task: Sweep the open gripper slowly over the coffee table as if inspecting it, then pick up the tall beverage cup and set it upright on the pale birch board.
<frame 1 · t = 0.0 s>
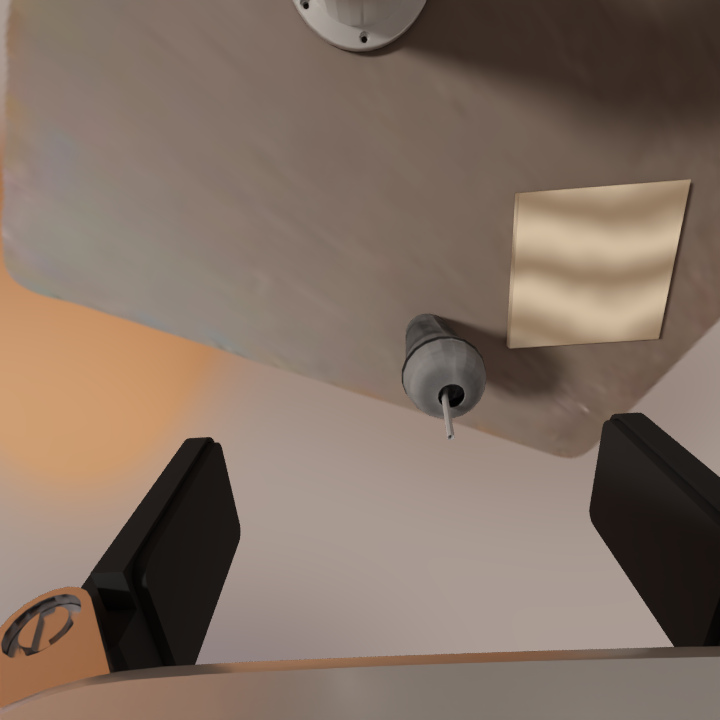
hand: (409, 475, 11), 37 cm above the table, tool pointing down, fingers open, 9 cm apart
birch board: (587, 268, 45), on the table
beverage cup: (426, 332, 48), on the table
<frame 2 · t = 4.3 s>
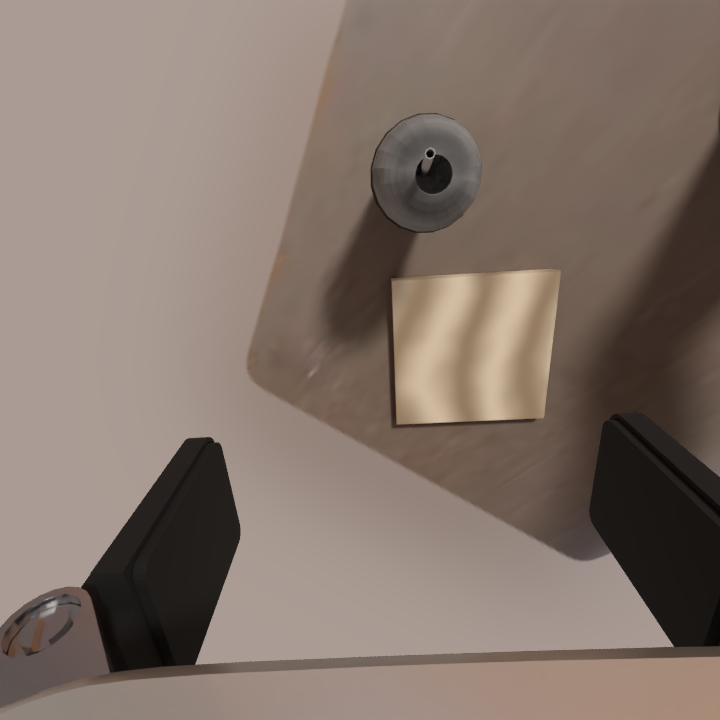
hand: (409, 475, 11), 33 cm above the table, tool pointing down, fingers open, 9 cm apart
birch board: (469, 349, 45), on the table
beverage cup: (409, 178, 39), on the table
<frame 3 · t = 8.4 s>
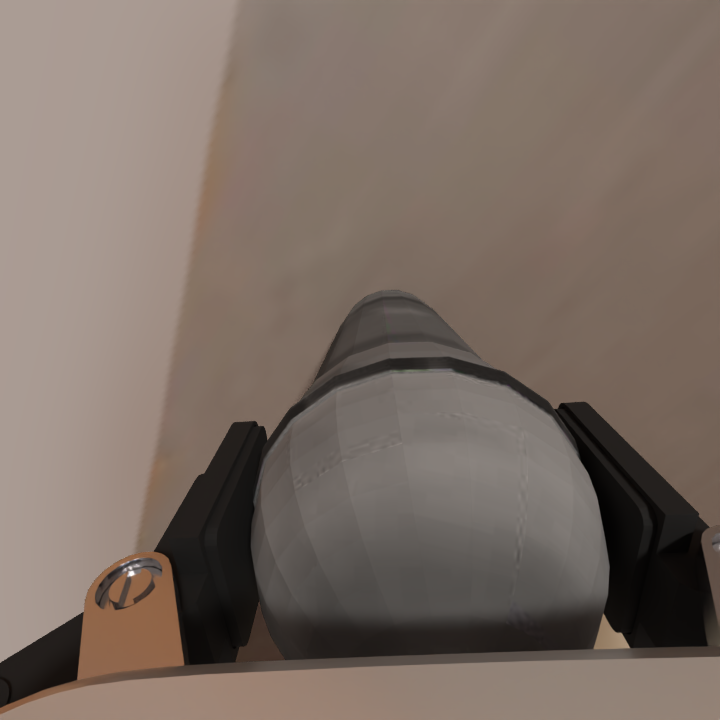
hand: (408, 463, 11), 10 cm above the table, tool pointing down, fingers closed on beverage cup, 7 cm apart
birch board: (501, 590, 26), on the table
beverage cup: (389, 335, 20), on the table, touching gripper
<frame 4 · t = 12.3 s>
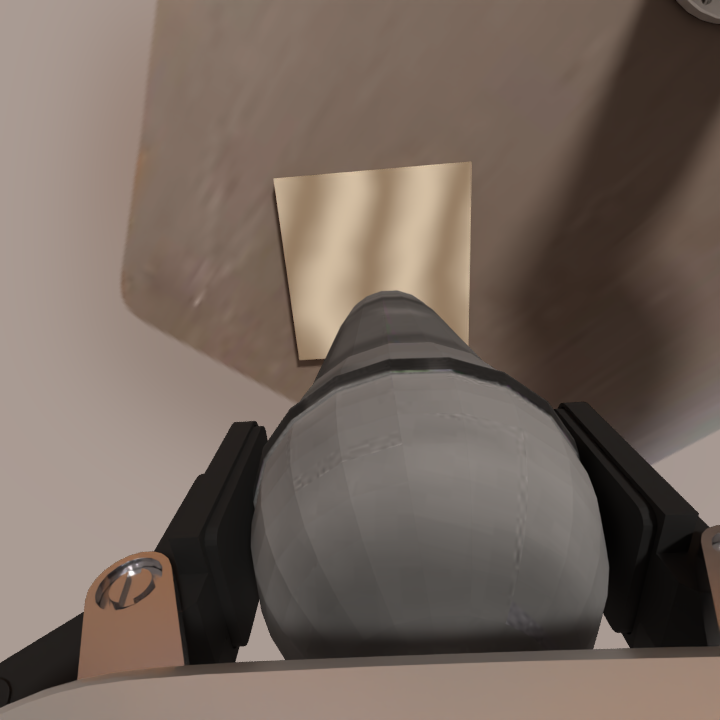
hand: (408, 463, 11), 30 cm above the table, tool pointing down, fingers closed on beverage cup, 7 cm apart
birch board: (377, 267, 38), on the table
beverage cup: (389, 335, 20), point 20 cm above the table, touching gripper
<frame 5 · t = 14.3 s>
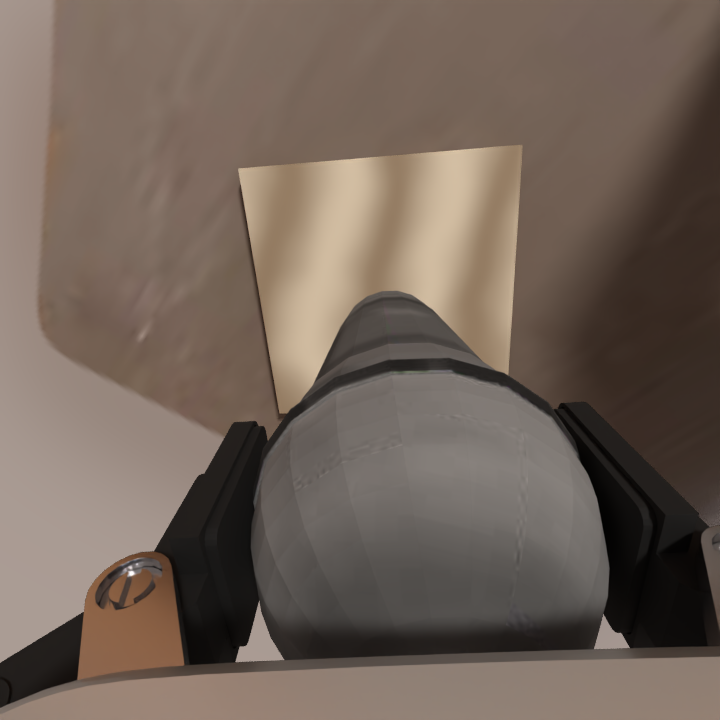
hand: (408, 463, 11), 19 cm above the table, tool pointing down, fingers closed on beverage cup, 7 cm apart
birch board: (385, 291, 28), on the table
beverage cup: (389, 336, 20), point 9 cm above the table, touching gripper
when the fingers open (12 cm above the table, at t = 16.1 s): beverage cup drops 1 cm, resting on birch board.
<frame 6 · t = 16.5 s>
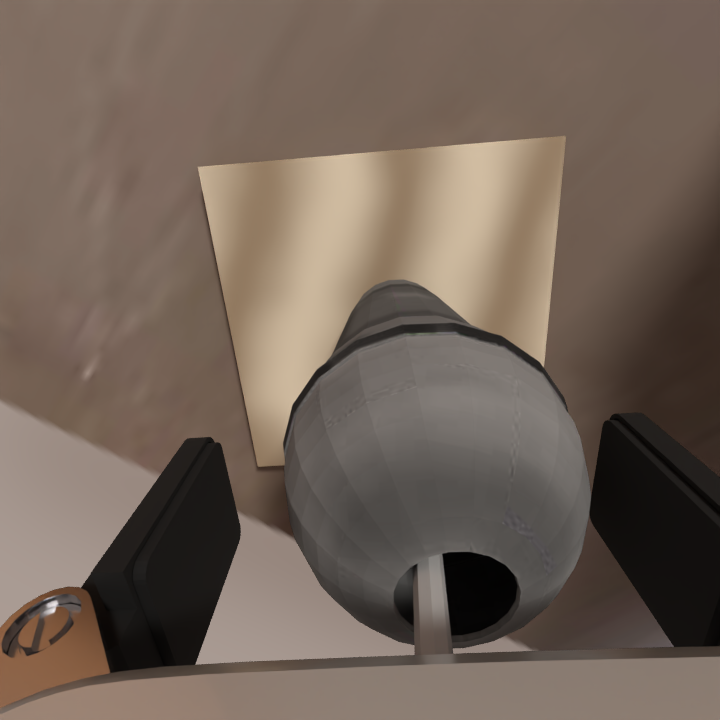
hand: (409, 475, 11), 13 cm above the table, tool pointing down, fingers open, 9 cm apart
birch board: (386, 320, 23), on the table
beverage cup: (396, 322, 22), point 1 cm above the table, touching birch board
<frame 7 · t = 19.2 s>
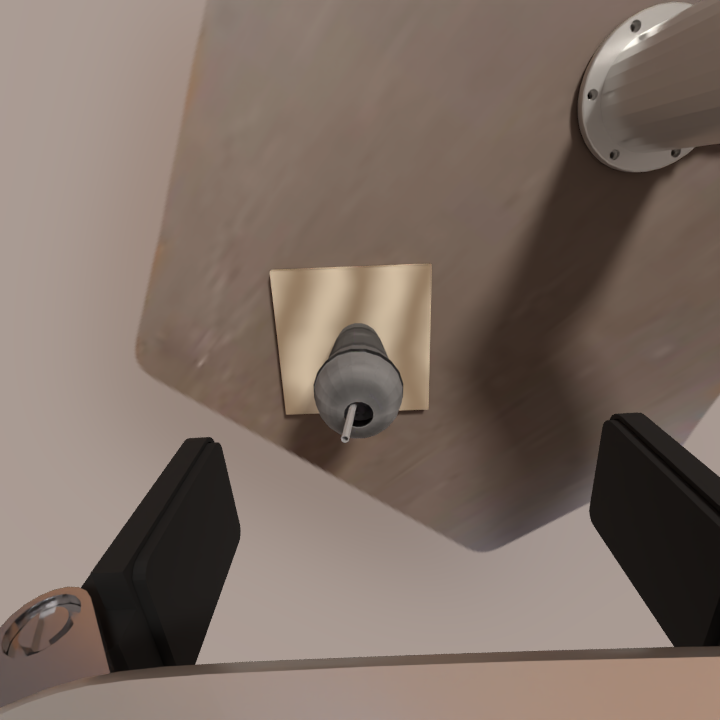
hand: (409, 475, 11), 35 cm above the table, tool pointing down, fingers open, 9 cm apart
birch board: (354, 341, 46), on the table
beverage cup: (358, 342, 45), point 1 cm above the table, touching birch board
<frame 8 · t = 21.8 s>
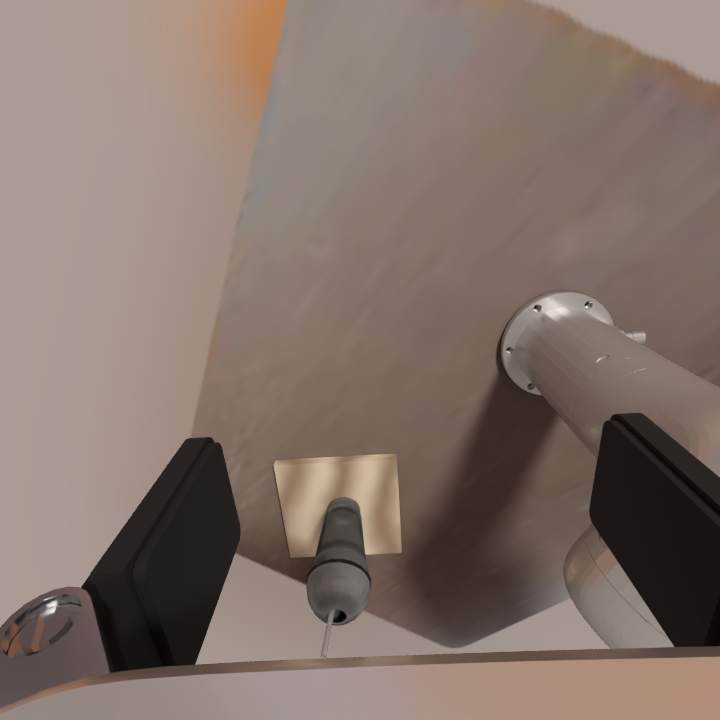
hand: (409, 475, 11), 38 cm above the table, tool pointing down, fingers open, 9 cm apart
birch board: (341, 505, 59), on the table
beverage cup: (343, 509, 58), point 1 cm above the table, touching birch board
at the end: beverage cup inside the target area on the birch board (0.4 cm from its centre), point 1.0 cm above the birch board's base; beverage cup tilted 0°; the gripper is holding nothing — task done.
